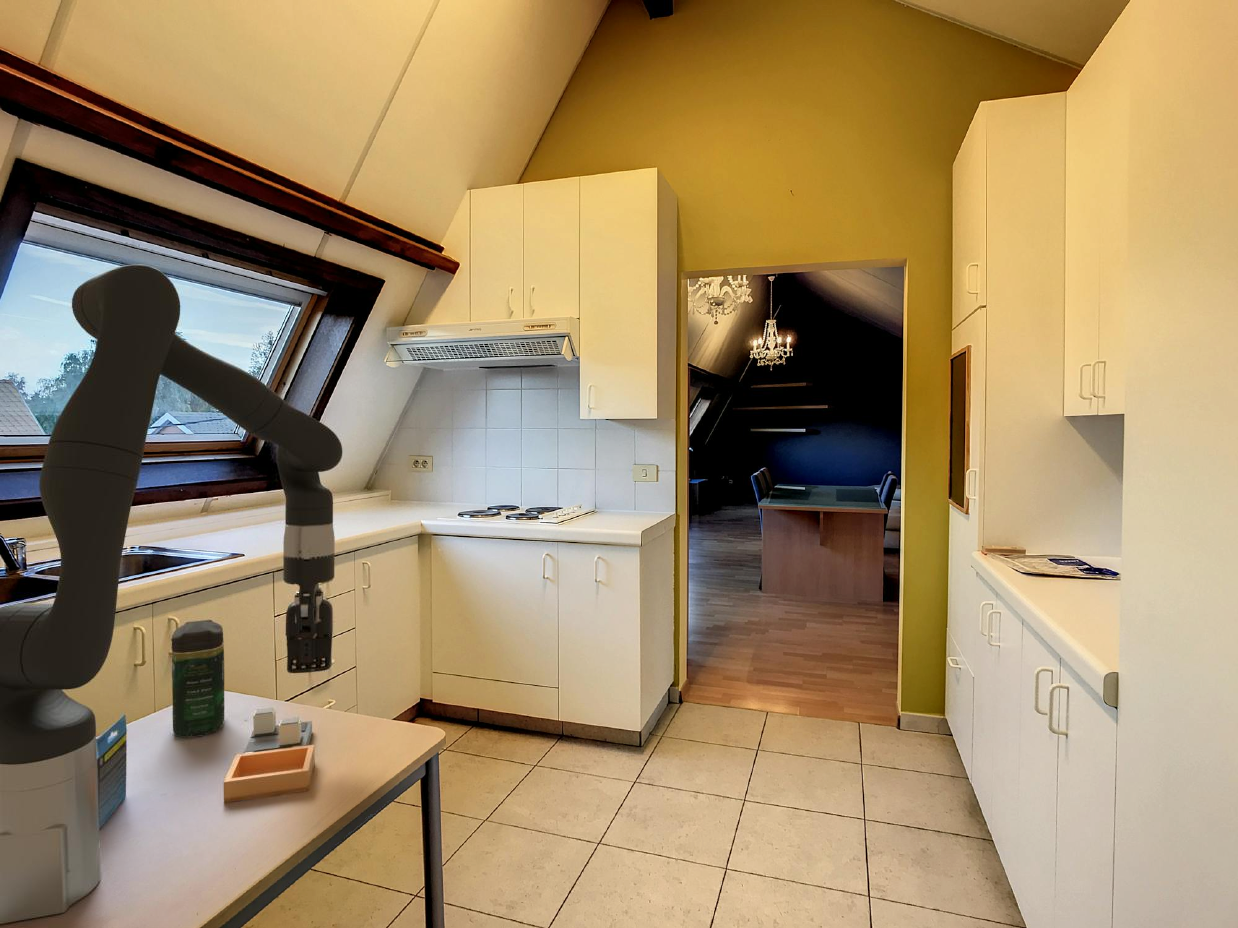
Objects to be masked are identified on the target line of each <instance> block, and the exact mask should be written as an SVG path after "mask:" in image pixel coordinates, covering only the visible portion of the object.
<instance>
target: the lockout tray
mask: <svg viewBox="0 0 1238 928" xmlns="http://www.w3.org/2000/svg"><path fill="white" fill-rule="evenodd" d="M314 767H315V744H309V745H308V746H301V747H293V748H285V749H277V750H269V751H261V752H253V753H245V754H243V753H238V754H235V757H234V759H233V761H232V762H231V765H230V767H229V770H228V772H227V773H226V775H225V778H224V781H223V783H222V784H223V804H224V803H232V802H238V801H245V800H254V799H259V798H265V797H267V798H268V797H272V796H278V795H287V794H293V793H301V792H306V791H307V792H308V791H309V790H310V785H311V781H312V777H313V772H314Z"/></svg>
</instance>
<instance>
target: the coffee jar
mask: <svg viewBox="0 0 1238 928" xmlns="http://www.w3.org/2000/svg"><path fill="white" fill-rule="evenodd" d="M170 641H171V681H172V682H171V684H172V685H171V686H172V687H171V689H172V693H171V694H172V731H173V734H174V735H175V737H177V738H179V737H180V738H181V737H183V738H184V737H189V738H190V737H191V738H195V737H202V736H205V735H207V734H209V733H211V732H214V731H219V730H220V729H221V728H222V727H223V724H224V722H225V709H226V708H225V707H226V706H225V647H224V646H225V645H224V643H225V642H224V631H223V626H222V625H221V624H219V623H217V622H216V621H213V620H212V619H205V620H193V621H192V620H191V621H187V622H185V623H184V624H183V625H181V626H179V627H178V628H176V629H175V630H174V632H173V634H172V635H171V639H170Z"/></svg>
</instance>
